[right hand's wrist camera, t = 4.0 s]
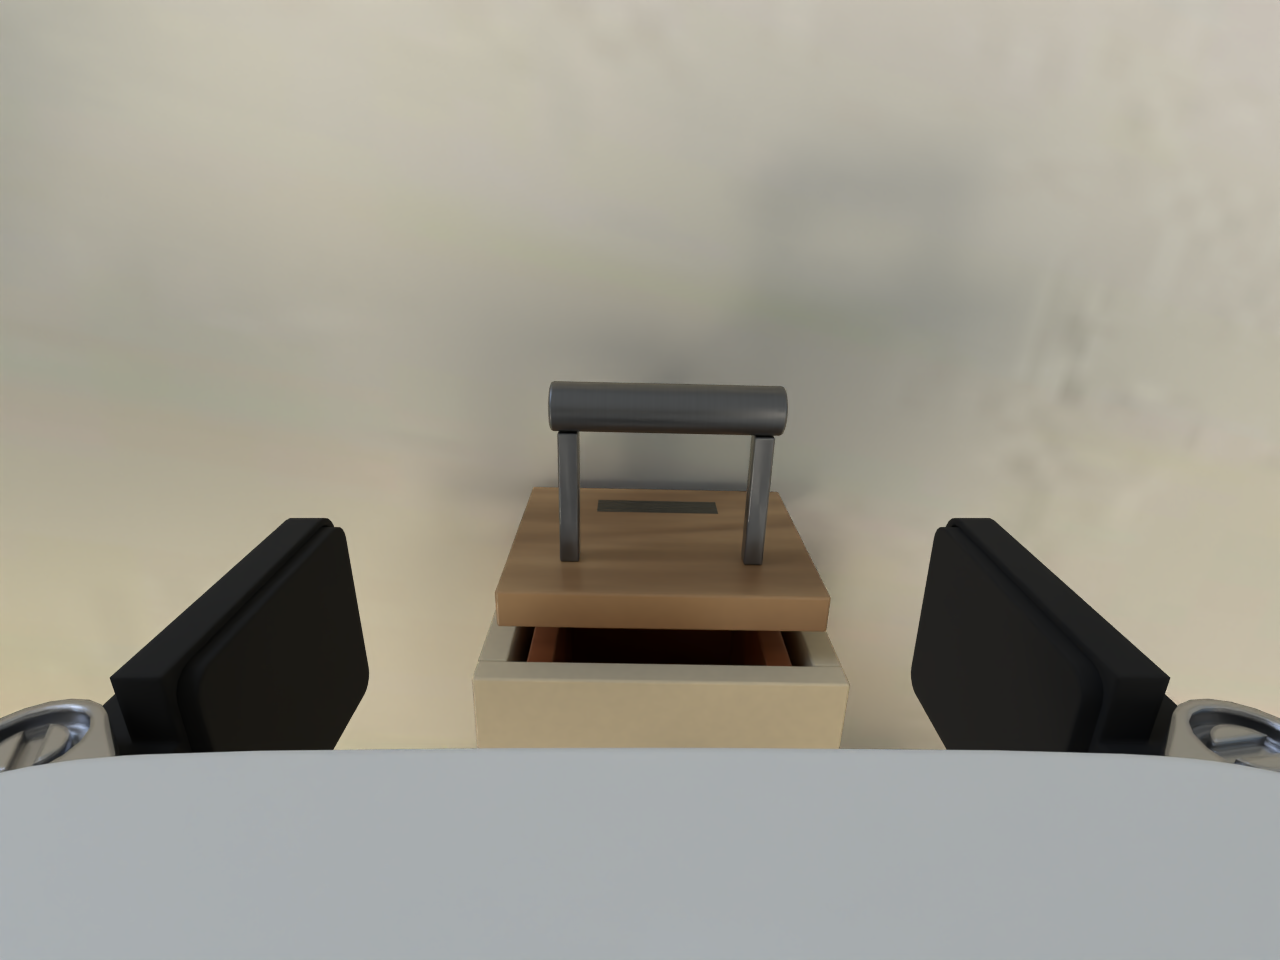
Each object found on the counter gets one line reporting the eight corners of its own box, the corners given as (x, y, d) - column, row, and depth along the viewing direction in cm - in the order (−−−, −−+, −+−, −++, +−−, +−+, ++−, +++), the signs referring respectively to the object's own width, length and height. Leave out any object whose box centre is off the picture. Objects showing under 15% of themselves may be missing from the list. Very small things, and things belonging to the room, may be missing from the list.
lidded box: (523, 528, 29) (470, 678, 20) (783, 533, 29) (851, 684, 20) (532, 768, 34) (494, 979, 24) (756, 771, 34) (802, 982, 25)
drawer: (527, 342, 25) (482, 400, 18) (793, 349, 25) (859, 408, 18) (541, 724, 31) (511, 884, 24) (753, 727, 32) (789, 888, 24)
